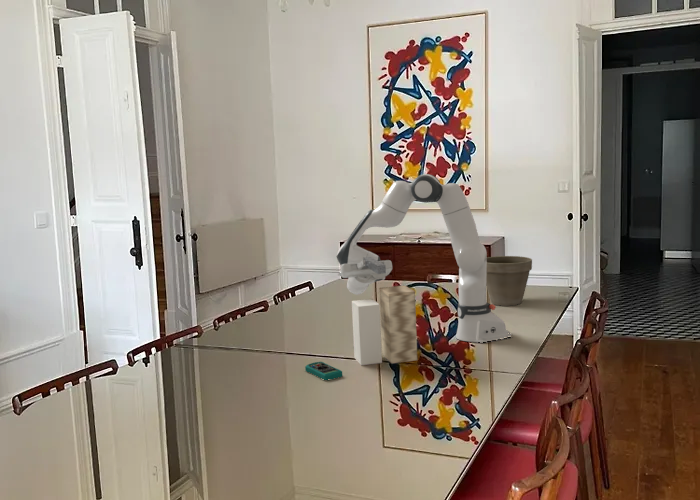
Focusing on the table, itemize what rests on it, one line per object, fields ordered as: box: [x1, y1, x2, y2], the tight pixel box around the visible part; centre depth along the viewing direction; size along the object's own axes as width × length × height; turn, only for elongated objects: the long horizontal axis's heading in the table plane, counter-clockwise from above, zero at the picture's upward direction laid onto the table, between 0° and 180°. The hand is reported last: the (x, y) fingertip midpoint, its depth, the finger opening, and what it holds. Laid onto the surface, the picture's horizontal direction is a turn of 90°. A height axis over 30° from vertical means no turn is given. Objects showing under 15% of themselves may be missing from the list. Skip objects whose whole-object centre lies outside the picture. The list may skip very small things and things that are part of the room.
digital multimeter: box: [304, 361, 343, 381], centre depth 248 cm, size 7×15×3 cm, turn 33°
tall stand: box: [378, 285, 418, 364], centre depth 261 cm, size 10×12×26 cm
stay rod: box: [363, 257, 386, 274], centre depth 260 cm, size 3×20×3 cm, turn 13°
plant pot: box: [486, 255, 533, 307], centre depth 340 cm, size 25×25×22 cm
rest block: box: [351, 298, 383, 366], centre depth 259 cm, size 8×10×22 cm
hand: (370, 261), depth 265 cm, fingers closed on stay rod, 3 cm apart
